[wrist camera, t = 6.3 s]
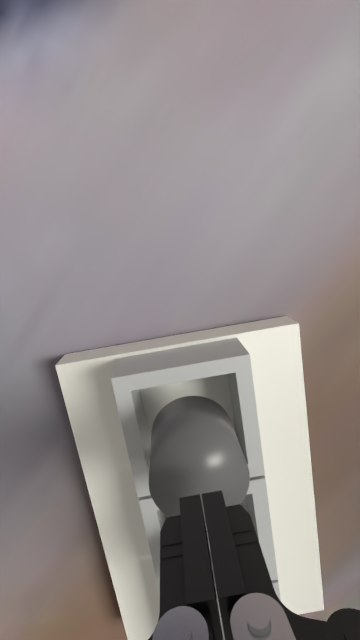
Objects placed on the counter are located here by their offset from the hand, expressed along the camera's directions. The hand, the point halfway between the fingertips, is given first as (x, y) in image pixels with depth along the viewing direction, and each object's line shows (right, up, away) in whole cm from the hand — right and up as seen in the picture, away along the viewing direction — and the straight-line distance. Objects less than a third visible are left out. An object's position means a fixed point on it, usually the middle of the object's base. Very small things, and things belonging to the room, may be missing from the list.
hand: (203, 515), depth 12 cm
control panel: (+1, -4, +12) cm, 13 cm away
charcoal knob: (0, +1, +5) cm, 5 cm away
